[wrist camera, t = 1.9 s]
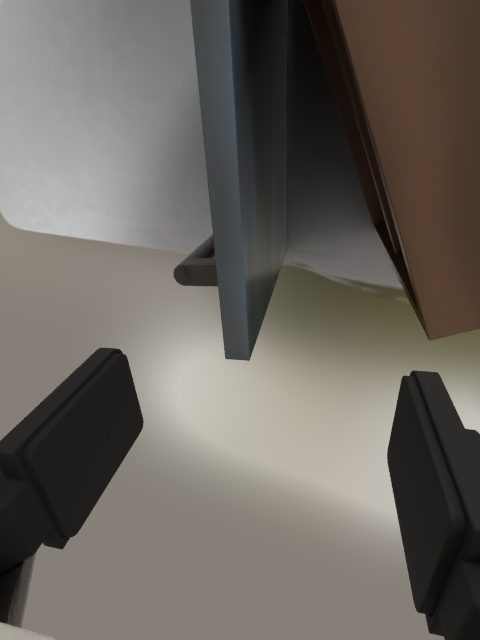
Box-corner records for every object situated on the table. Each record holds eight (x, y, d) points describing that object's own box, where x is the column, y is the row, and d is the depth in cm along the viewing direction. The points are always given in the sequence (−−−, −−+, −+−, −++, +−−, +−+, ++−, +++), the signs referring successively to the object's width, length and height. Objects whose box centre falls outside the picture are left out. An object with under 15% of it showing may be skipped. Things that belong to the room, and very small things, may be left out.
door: (227, 250, 43) (141, 352, 23) (205, -26, 31) (-17, -319, 11) (286, 250, 42) (249, 361, 22) (287, -41, 30) (203, -418, 9)
